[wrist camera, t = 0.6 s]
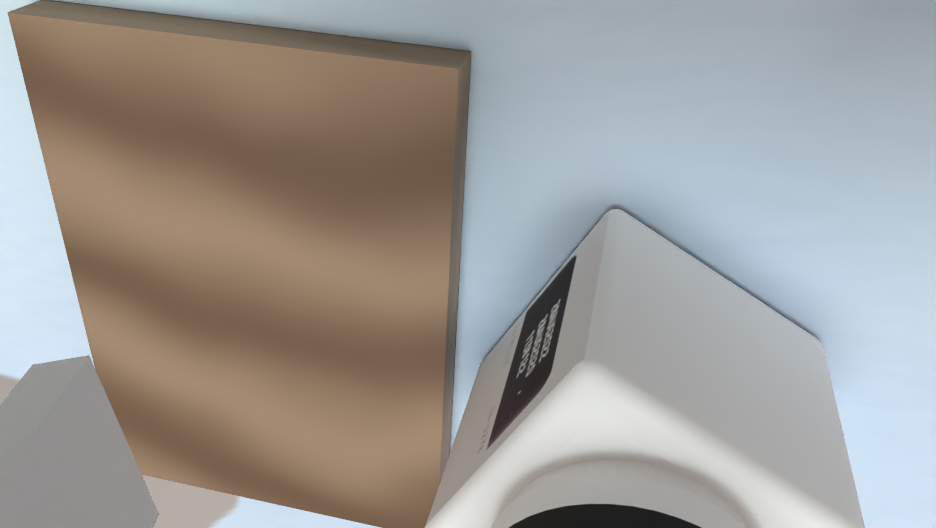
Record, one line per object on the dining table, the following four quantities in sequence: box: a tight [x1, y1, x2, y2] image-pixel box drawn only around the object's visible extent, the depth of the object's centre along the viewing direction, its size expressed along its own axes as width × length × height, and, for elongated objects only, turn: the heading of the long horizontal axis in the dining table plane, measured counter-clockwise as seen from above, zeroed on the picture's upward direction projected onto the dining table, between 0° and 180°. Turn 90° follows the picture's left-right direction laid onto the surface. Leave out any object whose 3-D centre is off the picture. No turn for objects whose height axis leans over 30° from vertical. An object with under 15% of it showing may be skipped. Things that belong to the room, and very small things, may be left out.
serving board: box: [8, 0, 471, 528], centre depth 27 cm, size 18×13×2 cm
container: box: [425, 209, 865, 528], centre depth 21 cm, size 8×8×13 cm
